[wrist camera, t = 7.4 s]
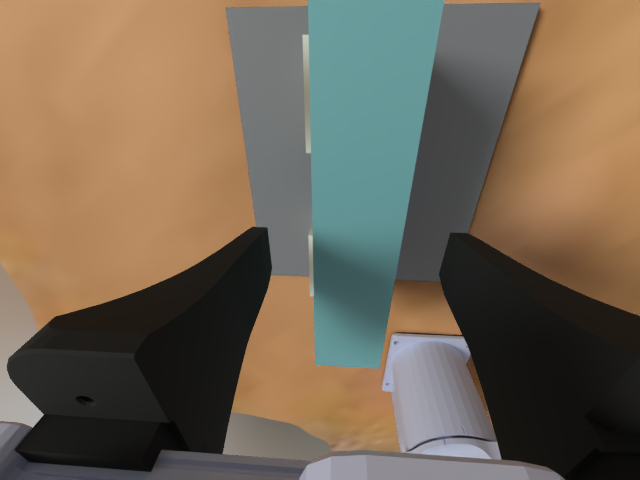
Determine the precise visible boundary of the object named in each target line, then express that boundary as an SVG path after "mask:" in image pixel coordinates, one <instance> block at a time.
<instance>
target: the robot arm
mask: <svg viewBox="0 0 640 480" xmlns="http://www.w3.org/2000/svg"><path fill="white" fill-rule="evenodd" d="M271 271H272V262H271V254H270V245H269V236H268V228H267V227H252V228H250V229H248V230H247V231H245V232H244V233H243V234H241V235H240V236H238V237H237V238H236V239H234V240H233V241H231V242H230V243H229V244H227V245H226V246H224V247H223V248H221V249H220V250H218V251H217V252H215V253H214V254H212V255H211V256H209V257H207V258H206V259H204V260H203V261H201V262H199V263H198V264H196V265H194V266H192V267H191V268H189V269H187V270H185V271H183V272H181V273H179V274H177V275H175V276H173V277H171V278H169V279H166V280H164V281H162V282H159V283H157V284H155V285H152V286H150V287H148V288H146V289H143V290H140V291H138V292H135V293H132V294H130V295H127V296H124V297H121V298H118V299H115V300H112V301H109V302H106V303H103V304H100V305H96V306H93V307H89V308H85V309H82V310H78V311H75V312H71V313H68V314H64V315H60V316H56V317H54V318H53V319H52V320H51V321H50V322H49V323H47V324H46V325H45V326H44V327H43V328H42V329H41V330H40V331H39V332H37V333H36V334H35V335H34V336H33V337H32V338H31V339H30V340H29V341H27V342H26V343H25V344H24V345H23V346H22V347H21V348H20V349H18V350H17V351H16V352H15V353H14V354H13V355H12V356H11V357H10V358H9V359H8V363H7V371H8V373H9V376H10V379H11V380H12V381H13V382H14V384H15V385H16V386H17V387H18V388H19V389H20V390H21V391H22V392H23V393H24V394H25V395H26V396H27V397H28V398H29V400H30V401H31V402H33V404H34V405H35V406H36V407H37V408H38V409H39V410H41V412H42V413H43V414H44V415H43V417H42V418H41V419H40V420H39V421H38V423H37V424H36V425H35V426H34V427H33V428H32V427H30V426H27V425H25V424H22V423H15V422H3V421H0V480H640V316H638V315H635V314H632V313H629V312H626V311H624V310H621V309H618V308H616V307H613V306H611V305H608V304H605V303H603V302H600V301H598V300H595V299H593V298H590V297H588V296H585V295H583V294H581V293H578V292H576V291H574V290H572V289H570V288H567V287H565V286H563V285H561V284H559V283H556V282H554V281H552V280H550V279H548V278H546V277H544V276H542V275H541V274H539V273H537V272H535V271H533V270H531V269H529V268H527V267H526V266H524V265H522V264H520V263H518V262H517V261H515V260H513V259H511V258H510V257H508V256H506V255H505V254H503V253H501V252H500V251H498V250H496V249H495V248H493V247H491V246H490V245H488V244H486V243H485V242H483V241H481V240H479V239H478V238H476V237H474V236H472V235H470V234H468V233H450V235H449V239H448V243H447V246H446V250H445V253H444V257H443V261H442V264H441V268H440V271H439V277H440V281H441V285H442V288H443V291H444V295H445V297H446V300H447V302H448V304H449V307H450V309H451V311H452V313H453V315H454V318H455V320H456V322H457V324H458V326H459V328H460V331H461V333H462V335H463V336H444V335H423V334H402V333H395V334H393V335H392V336H391V342H390V347H389V352H388V357H387V362H386V367H385V373H384V378H383V383H382V390H383V391H387V392H391V393H392V400H393V406H394V413H395V419H396V426H397V432H398V439H399V445H400V449H401V452H402V453H399V452H385V451H371V450H356V451H336V452H332V453H329V454H327V455H324V456H321V457H319V458H316V459H313V460H312V461H306V460H291V459H279V458H265V457H251V456H238V455H225V454H222V453H223V448H224V443H225V438H226V433H227V427H228V423H229V418H230V414H231V409H232V405H233V400H234V395H235V391H236V387H237V383H238V379H239V374H240V370H241V366H242V362H243V359H244V355H245V351H246V347H247V343H248V340H249V337H250V334H251V332H252V329H253V326H254V324H255V321H256V318H257V316H258V313H259V311H260V308H261V305H262V303H263V300H264V297H265V294H266V292H267V289H268V285H269V281H270V276H271ZM470 355H471V356H472V359H473V362H474V365H475V368H476V371H477V374H478V377H479V380H480V383H481V386H482V390H483V393H484V396H485V400H486V403H487V406H488V410H489V413H490V417H491V421H492V424H493V428H494V430H493V428H492V425H491V423H490V420H489V418H488V416H487V413H486V411H485V408H484V406H483V404H482V401H481V399H480V396H479V394H478V392H477V389H476V387H475V385H474V382H473V380H472V377H471V375H470V373H469V370H468V368H467V365H466V364H467V362H468V360H469V357H470Z"/></svg>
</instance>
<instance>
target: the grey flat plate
mask: <svg viewBox="0 0 640 480" xmlns="http://www.w3.org/2000/svg"><path fill="white" fill-rule="evenodd" d="M539 6H540V3H484V4H444V6H443V11H442V17H441V23H440V28H439V34H438V40H437V45H436V51H435V57H434V62H433V68H432V74H431V79H430V85H429V91H428V96H427V102H426V108H425V113H424V119H423V125H422V130H421V136H420V142H419V147H418V153H417V159H416V164H415V170H414V176H413V181H412V187H411V193H410V198H409V204H408V210H407V215H406V221H405V227H404V232H403V238H402V244H401V249H400V255H399V261H398V266H397V272H396V278H395V280H413V281H440V277H439V271H440V268H441V264H442V261H443V257H444V253H445V250H446V246H447V243H448V239H449V235H450V233H468V231H469V228H470V225H471V222H472V218H473V215H474V212H475V209H476V206H477V203H478V199H479V196H480V193H481V190H482V187H483V184H484V180H485V177H486V174H487V171H488V168H489V165H490V161H491V158H492V155H493V152H494V149H495V146H496V142H497V139H498V136H499V133H500V130H501V127H502V123H503V120H504V117H505V114H506V111H507V108H508V104H509V101H510V98H511V95H512V92H513V89H514V85H515V82H516V79H517V76H518V73H519V70H520V66H521V63H522V60H523V57H524V54H525V51H526V47H527V44H528V41H529V38H530V35H531V32H532V28H533V25H534V22H535V19H536V16H537V13H538V9H539ZM226 14H227V21H228V28H229V35H230V43H231V50H232V57H233V64H234V71H235V78H236V86H237V93H238V100H239V107H240V114H241V121H242V128H243V136H244V143H245V150H246V157H247V164H248V171H249V178H250V186H251V193H252V200H253V207H254V214H255V221H256V227H267V228H268V236H269V245H270V254H271V262H272V271H271V275H281V276H308V277H310V276H309V241H308V235H309V229H310V224H311V219H312V180H311V153H306V139H305V105H304V71H303V37H302V35H309V29H308V6H295V7H232V8H226ZM440 282H441V281H440Z"/></svg>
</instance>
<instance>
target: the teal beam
mask: <svg viewBox="0 0 640 480" xmlns="http://www.w3.org/2000/svg"><path fill="white" fill-rule="evenodd" d="M443 6H444V0H308V29H309V79H310V129H311V180H312V230H313V280H314V331H315V365H323V366H341V367H359V368H377V369H379V368H380V363H381V357H382V351H383V346H384V340H385V334H386V329H387V323H388V317H389V312H390V306H391V300H392V295H393V289H394V283H395V278H396V272H397V266H398V261H399V255H400V249H401V244H402V238H403V232H404V227H405V221H406V215H407V210H408V204H409V198H410V193H411V187H412V181H413V176H414V170H415V164H416V159H417V153H418V147H419V142H420V136H421V130H422V125H423V119H424V113H425V108H426V102H427V96H428V91H429V85H430V79H431V74H432V68H433V62H434V57H435V51H436V45H437V40H438V34H439V28H440V23H441V17H442V11H443Z"/></svg>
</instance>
